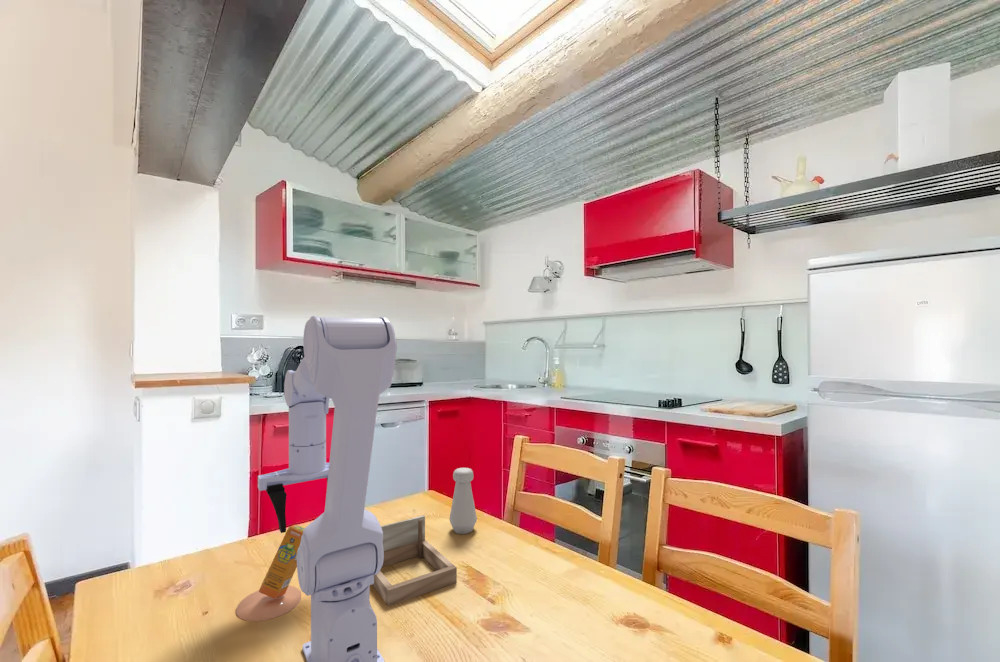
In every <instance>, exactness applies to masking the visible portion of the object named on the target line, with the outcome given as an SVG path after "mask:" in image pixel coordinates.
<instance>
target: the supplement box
mask: <svg viewBox="0 0 1000 662" xmlns="http://www.w3.org/2000/svg"><path fill="white" fill-rule="evenodd" d="M305 528H306V527H303V526H301V525H299V524H294V525H291V526H288V528H287V529H286V532H285V535H284V536H283V539H282V540H281V542H280V544H279V547H278V549H277V550H276V553H275V554H274V558H273V559H272V562H271V564H270V566H269V568H268V570H267V572H266V574H265V577H264V579H263V580H262V583H261V586H260V587H259V589H258V590H259V592H260V593H262V594H265V595H267V596H269V597H272V598H274V599H277V598H279V597H281V596H282V595H284V594H285V593H286V591H287V588H288V586H290V583H291V581H292V579H293V577H294V574H295V573H296V571H297V551H298V548H299V546H300V543H301V536H302V535H303V530H304V529H305Z"/></svg>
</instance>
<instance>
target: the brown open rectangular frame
mask: <svg viewBox="0 0 1000 662" xmlns="http://www.w3.org/2000/svg"><path fill="white" fill-rule="evenodd" d="M380 526H381V528H382V531H383V550H384V560H383V565H382V567H381V568H384V567H387V566H391V565H393V564H397V563H401V562H404V561H406V560H410V559H414V558H417V557H418V559H423V558H424V560H426V561H427V562H428V563H429V564H430V565H431V566H432V567H433V568H434V569H435V571H432V572H428V573H426V574H425V573H424V574H422V575H419V576H416V577H414V578H411V579H407V580H405V581H402V582H399V583H395V584H393V585H392V584H391V582H390V581H389V580H388V578H387V577H386V576H385V574H384V573H383V572H382V571H381V570H380V572H379V573H378V574H376V575H374V584H372V587H373V588H374V589H375V591H376V592H377V593H378V595H379V596H380V598H382V600H383V601H384V602H385V604H386V605H387V606H388V607H390V606H392V605H396V604H398V603H401V602H404V601H408V600H410V599H413V598H416V597H419V596H422V595H425V594H428V593H430V592H433V591H436V590H439V589H442V588H445V587H448V586H450V585H453V584H455V583H457V579H458V577H457V573H458V571H457V569H458V568H457V566H456V565H454V564H453V562H451V561H450V560H449V559H448V558H447V557H446V556H444V555H443V554H442V553H441V552H440V551H439V550H437V548H435V547H434V546H433V545H432V544H430V543H429V542H428V541H427V540H426V516H425V515H420V516H415V517H412V518H408V519H407V518H406V519H405V520H400V521H399V520H398V521H396V522H392V523H388V524H384V525H383V524H382V525H380Z"/></svg>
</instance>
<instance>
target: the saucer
mask: <svg viewBox="0 0 1000 662" xmlns="http://www.w3.org/2000/svg"><path fill="white" fill-rule="evenodd" d="M301 600H302V591H301V589H299V588H297V587H296V586H292V585H289V586H288V588H287V591H286V593H285V594H284V595H282V596H281V597H279V598H277V599H274V598H272V597H269V596H267V595H265V594H262V593H260V592H259V589H258V590H257V591H253V592H252V593H251V594H249V595H247V596H245V597H244V598H243V599H242V600H241V601H240V602H239V603H238V604H237V606H236V609H235V610H236V611H235V613H236V614H235V615H236V616H237V617H239V619H240V620H244V621H247V622H261V621H267V620H272V619H275V618H278V617H280V616H283V615H285V614H287V613H289V612H291V611H292V610H293V609H295V608H296V607H297V606H298V605H299V603H301Z"/></svg>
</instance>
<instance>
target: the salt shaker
mask: <svg viewBox="0 0 1000 662" xmlns="http://www.w3.org/2000/svg"><path fill="white" fill-rule="evenodd" d="M452 479H453V481H455V486H454V491H453V496H452V503H451V506H450V507H451V508H450V514H449V522H450V526H451V528H452V529H453V532H454V533H456V534H458V535H467V534H469V533H472V532H473V530H474V528H475V525H476V523H477V520H478V517H477V512H476V507H475V500H474V495H473V491H472V483H471V482H472V481H473V480H474V470H473V469H472V468H469V467H459V468H458V467H457V468H456V469H454V471H453V474H452Z"/></svg>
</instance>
